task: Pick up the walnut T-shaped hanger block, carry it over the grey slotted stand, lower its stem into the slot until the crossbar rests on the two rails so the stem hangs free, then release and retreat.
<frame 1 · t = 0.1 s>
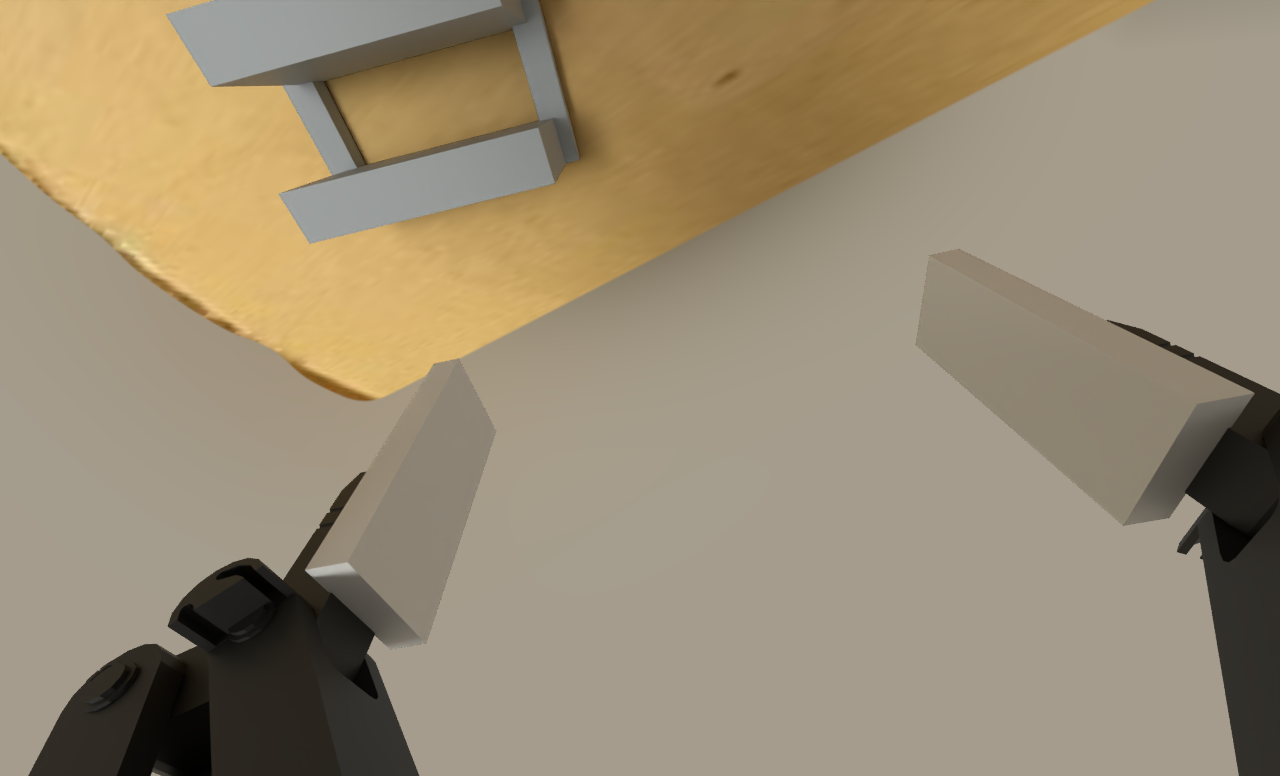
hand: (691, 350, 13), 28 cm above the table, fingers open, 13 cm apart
slot stand: (436, 101, 33), on the table
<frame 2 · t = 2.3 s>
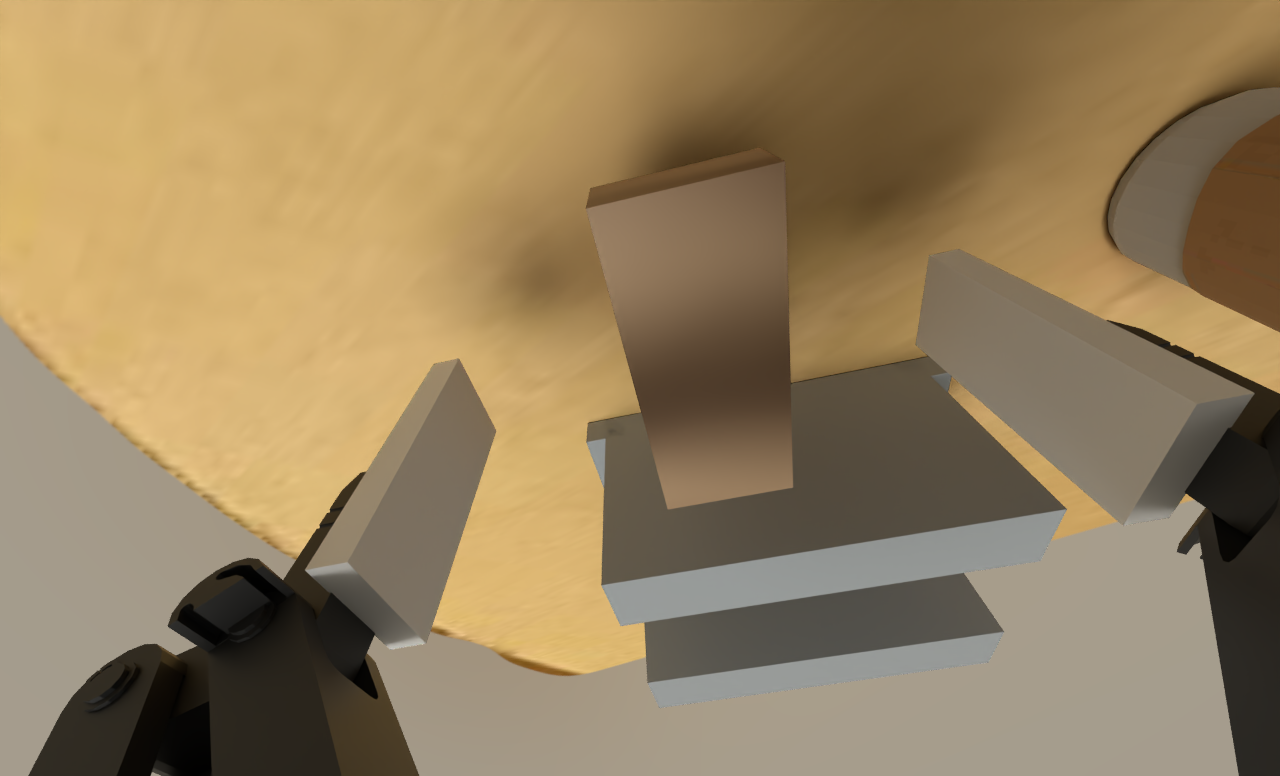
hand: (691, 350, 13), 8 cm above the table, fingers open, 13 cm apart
slot stand: (761, 466, 27), on the table
tee hanger: (671, 248, 19), on the table
coffee cup: (1182, 180, 19), on the table
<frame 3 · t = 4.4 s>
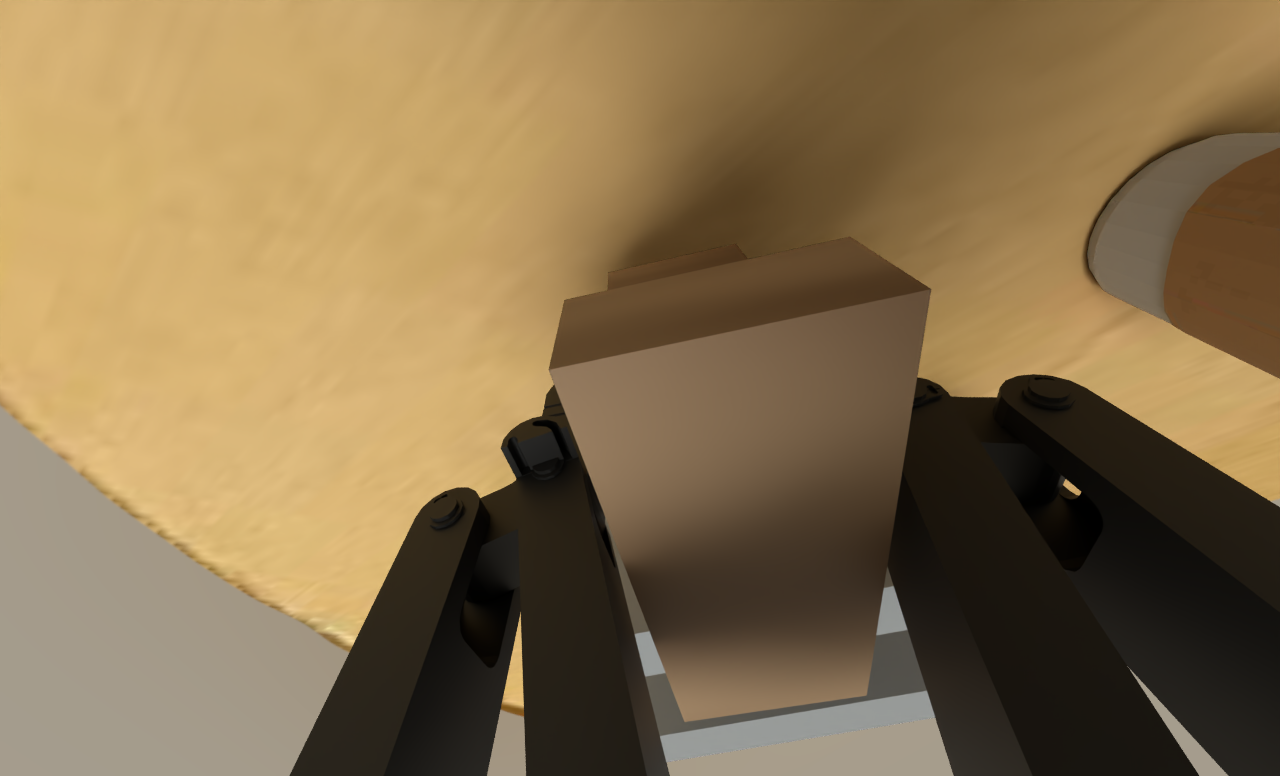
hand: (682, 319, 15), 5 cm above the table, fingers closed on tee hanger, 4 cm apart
slot stand: (754, 503, 26), on the table
tee hanger: (681, 316, 15), point 4 cm above the table, touching gripper
coffee cup: (1157, 219, 19), on the table
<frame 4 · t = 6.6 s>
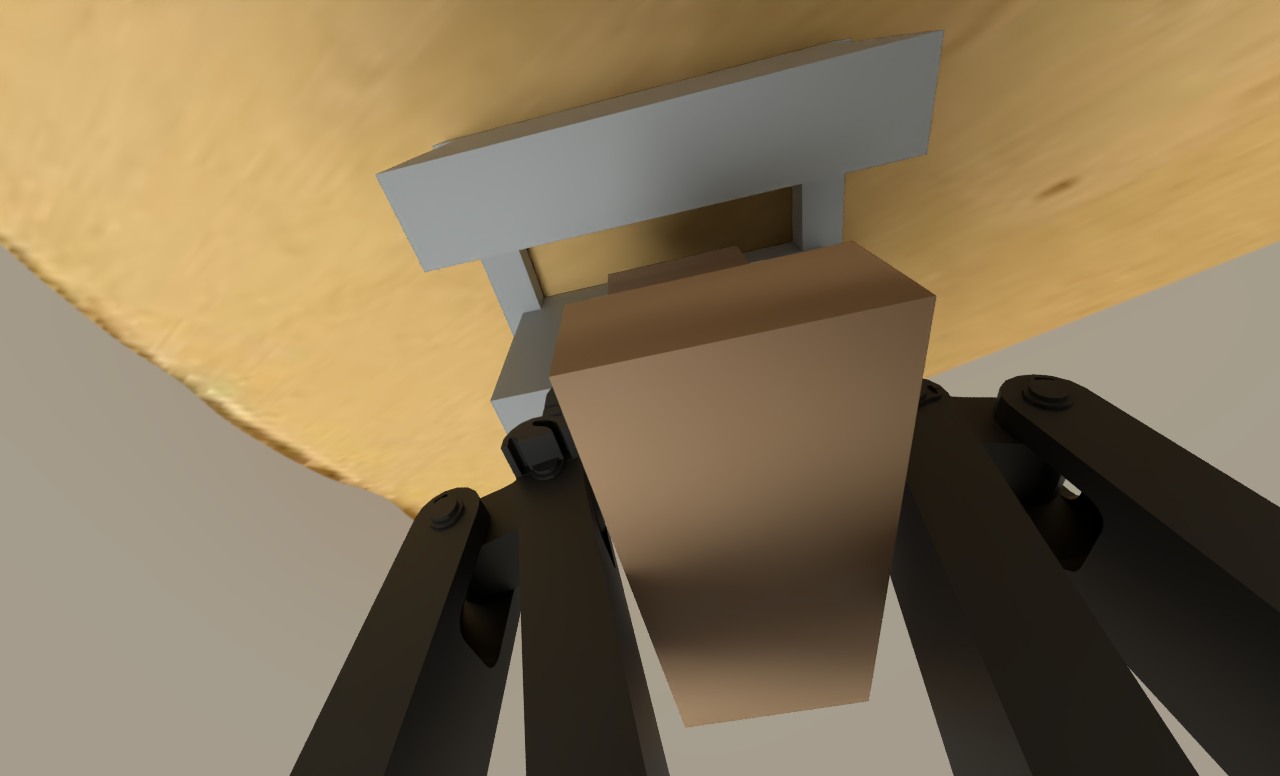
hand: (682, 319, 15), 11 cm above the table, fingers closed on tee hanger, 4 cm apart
slot stand: (656, 221, 24), on the table
tee hanger: (681, 318, 15), point 11 cm above the table, touching gripper
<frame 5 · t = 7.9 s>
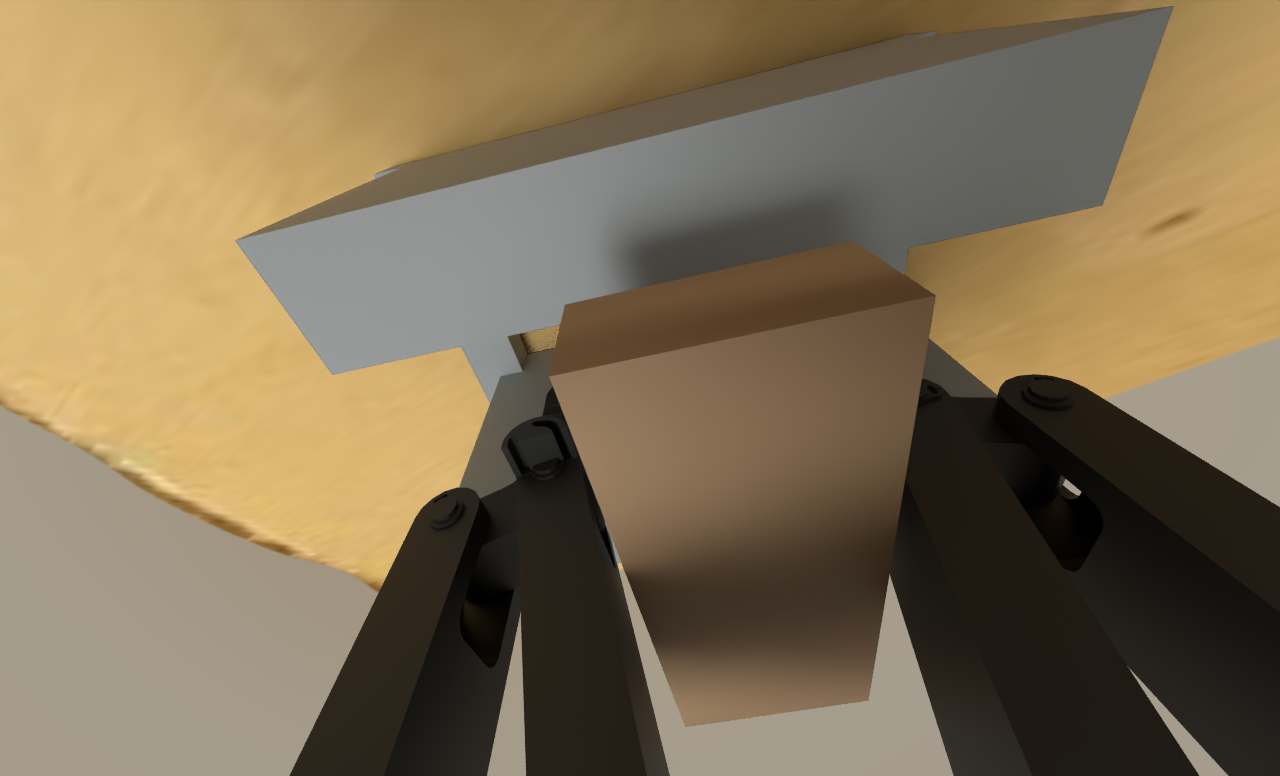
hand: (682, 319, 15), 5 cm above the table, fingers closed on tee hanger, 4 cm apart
slot stand: (667, 263, 19), on the table
tee hanger: (681, 318, 15), point 5 cm above the table, touching gripper
when the fingers open (2 cm above the table, at t = 8.7 s): tee hanger stays where it is, resting on slot stand.
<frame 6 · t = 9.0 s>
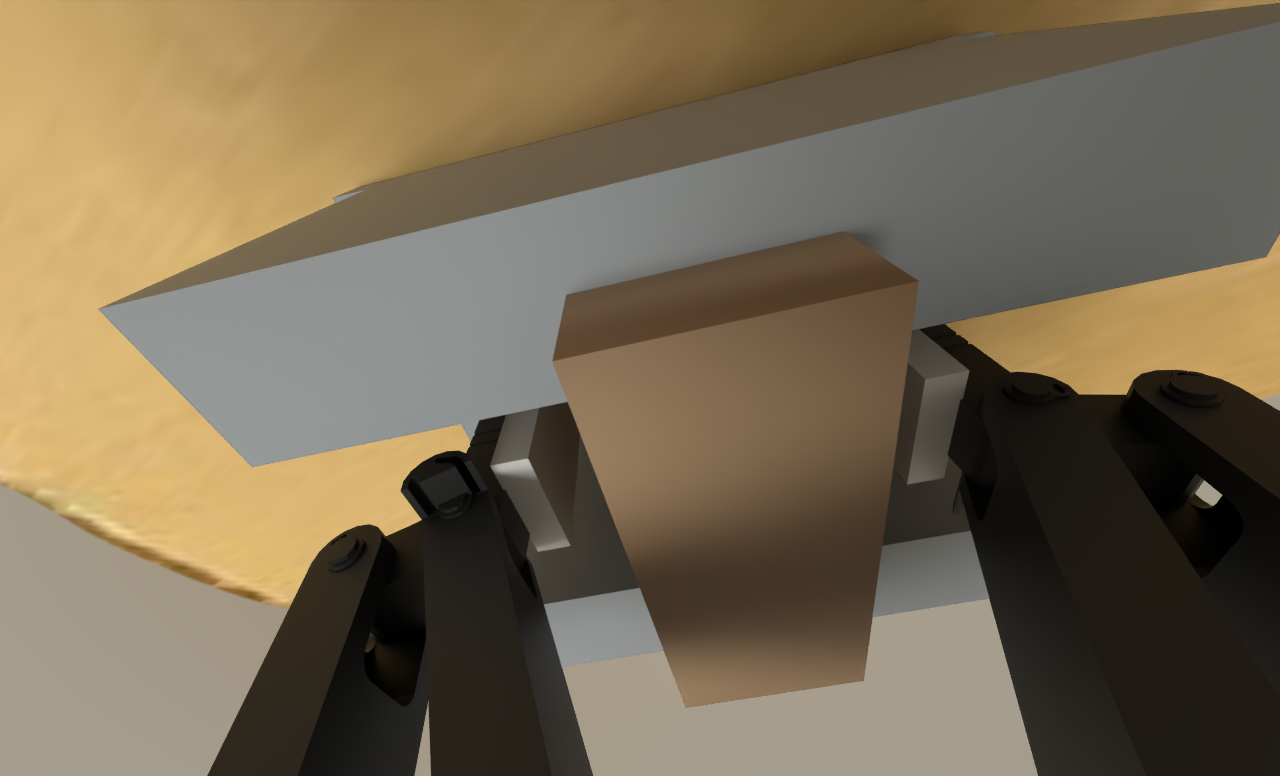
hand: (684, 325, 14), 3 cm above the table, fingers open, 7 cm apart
slot stand: (674, 293, 16), on the table
tee hanger: (680, 311, 15), point 1 cm above the table, touching slot stand
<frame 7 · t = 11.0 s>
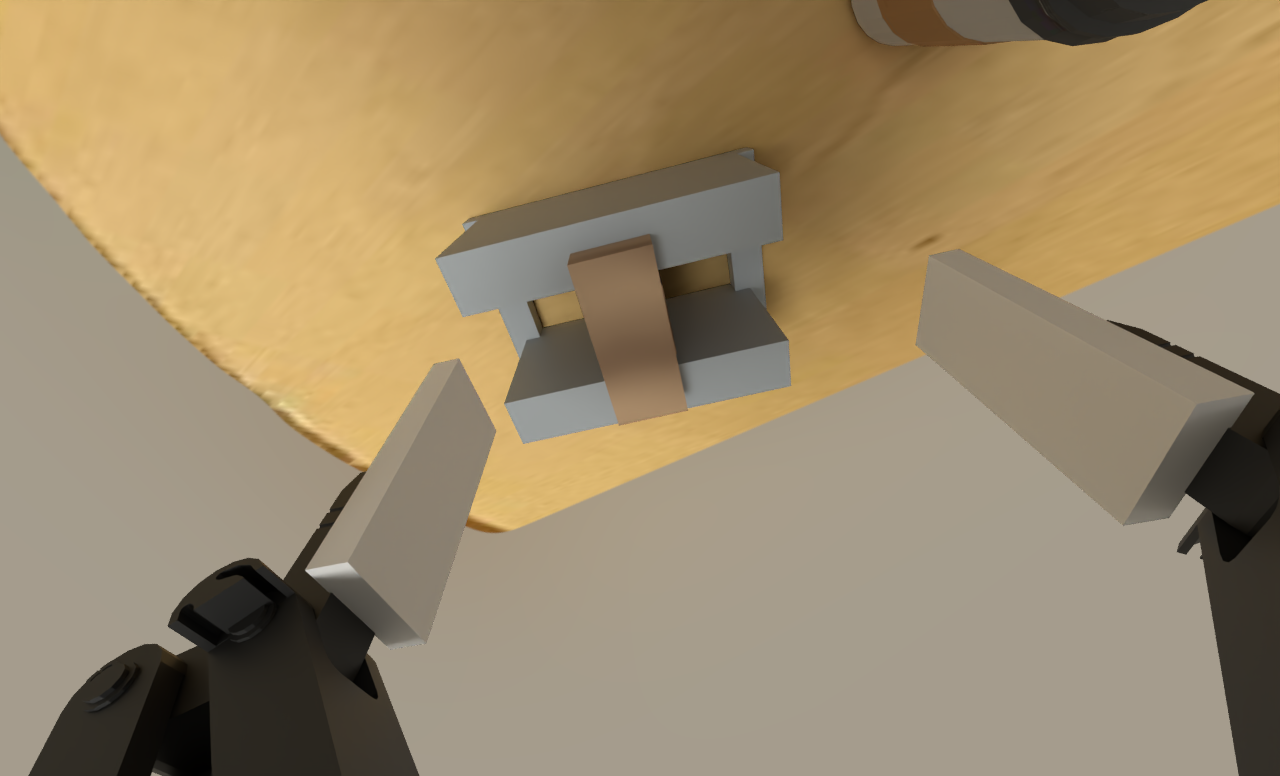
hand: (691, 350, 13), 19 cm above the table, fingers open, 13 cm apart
slot stand: (626, 270, 31), on the table
tee hanger: (627, 278, 30), point 1 cm above the table, touching slot stand
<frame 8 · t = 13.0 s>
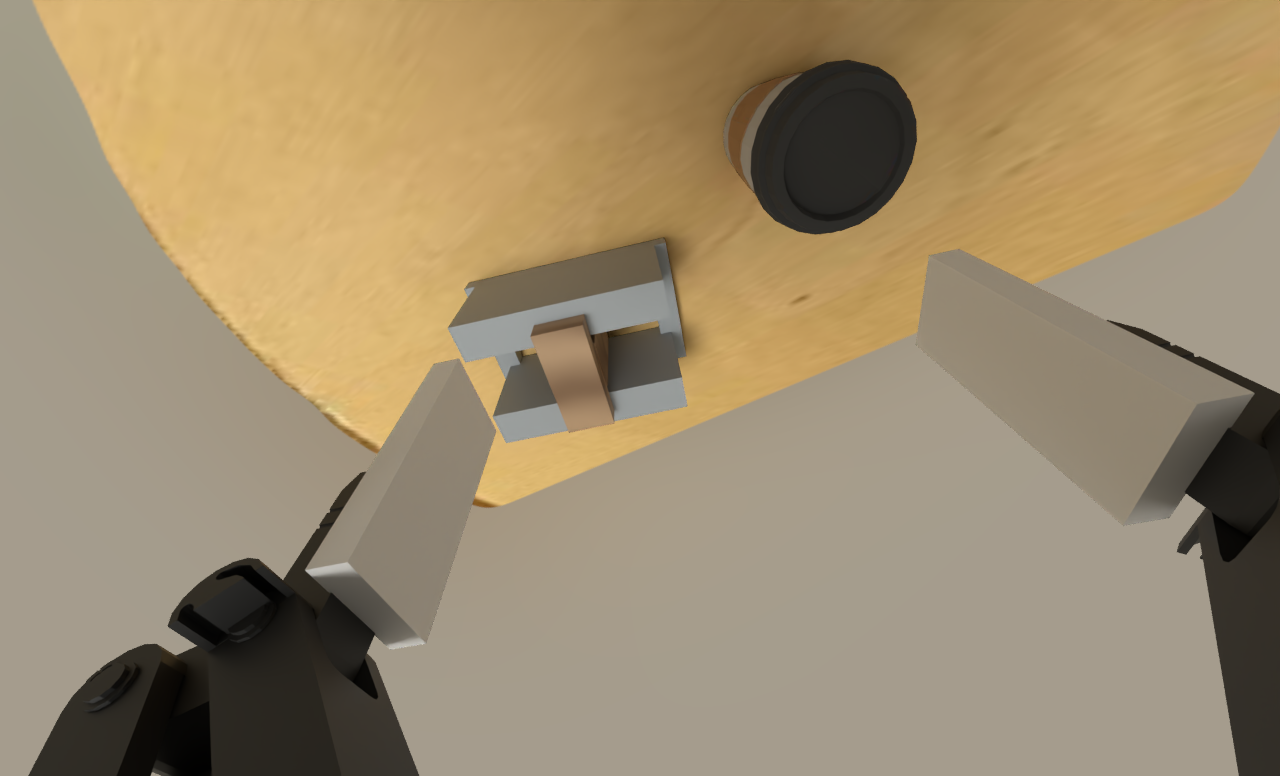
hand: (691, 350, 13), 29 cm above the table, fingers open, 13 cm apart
slot stand: (582, 317, 43), on the table
tee hanger: (582, 324, 42), point 1 cm above the table, touching slot stand
coffee cup: (761, 131, 36), on the table
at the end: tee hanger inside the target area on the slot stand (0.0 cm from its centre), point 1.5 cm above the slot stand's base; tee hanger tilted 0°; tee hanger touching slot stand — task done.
